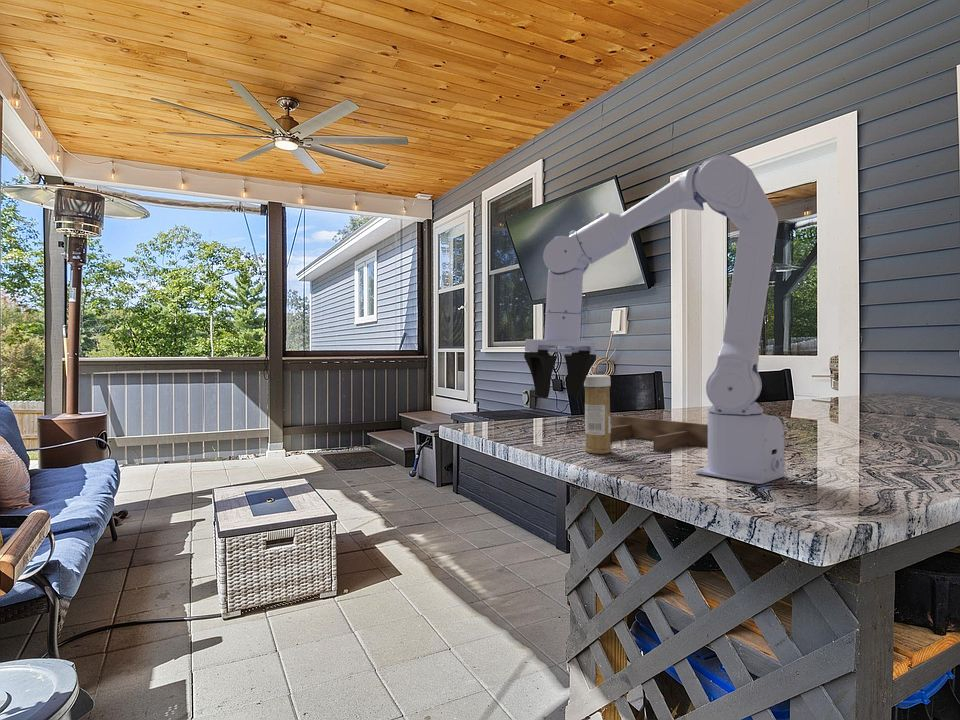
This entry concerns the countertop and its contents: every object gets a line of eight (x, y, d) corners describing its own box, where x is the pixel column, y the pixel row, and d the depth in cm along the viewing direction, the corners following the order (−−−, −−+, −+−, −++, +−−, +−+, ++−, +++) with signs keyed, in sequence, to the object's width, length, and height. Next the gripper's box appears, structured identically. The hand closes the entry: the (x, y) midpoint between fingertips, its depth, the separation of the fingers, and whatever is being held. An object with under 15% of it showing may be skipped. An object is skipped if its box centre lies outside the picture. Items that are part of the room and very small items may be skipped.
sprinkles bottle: (616, 451, 102) (615, 374, 102) (601, 455, 99) (600, 376, 99) (594, 448, 105) (593, 374, 105) (579, 452, 102) (578, 375, 102)
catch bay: (712, 447, 106) (712, 424, 106) (678, 454, 99) (678, 430, 99) (614, 434, 123) (614, 415, 123) (579, 439, 116) (579, 419, 116)
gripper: (574, 315, 103) (570, 392, 104) (513, 310, 94) (509, 394, 95) (606, 316, 98) (601, 397, 98) (545, 311, 89) (540, 400, 89)
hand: (558, 396), depth 96 cm, fingers open, 7 cm apart
